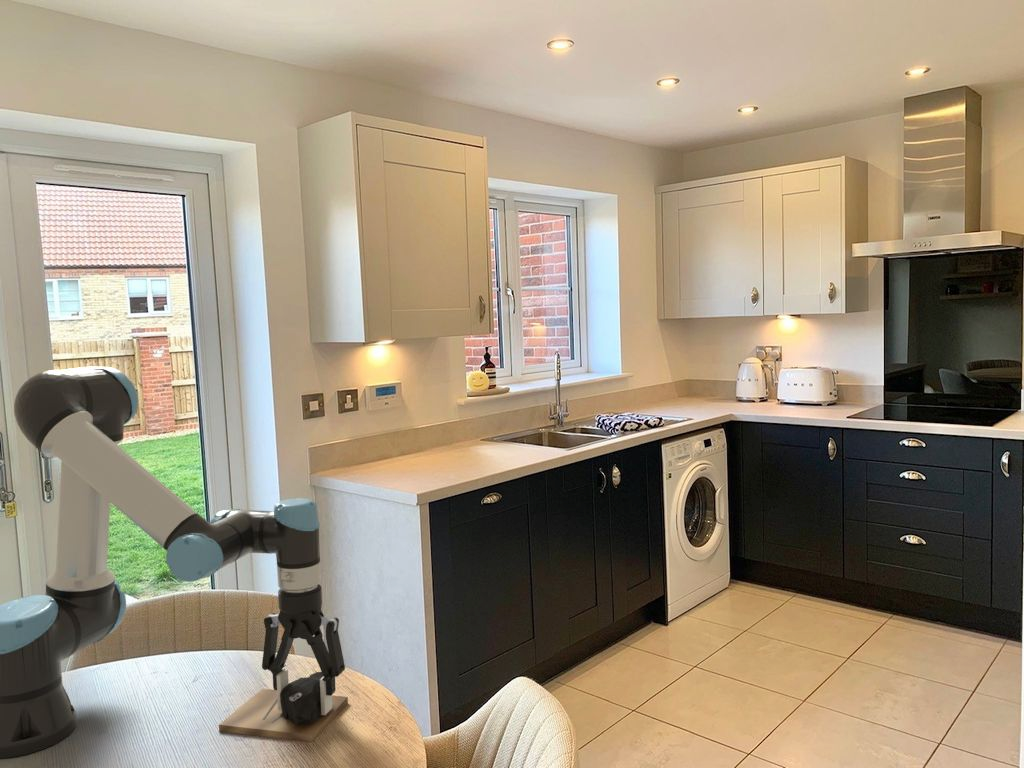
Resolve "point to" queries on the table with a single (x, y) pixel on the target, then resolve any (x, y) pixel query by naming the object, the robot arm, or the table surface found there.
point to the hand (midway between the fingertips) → (305, 709)
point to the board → (276, 718)
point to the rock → (302, 699)
